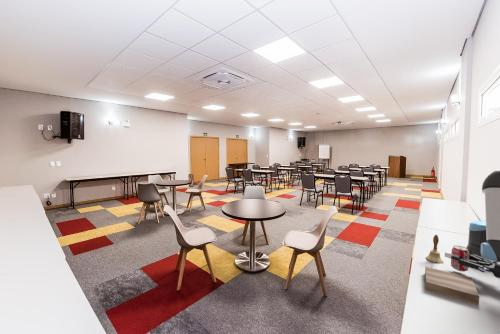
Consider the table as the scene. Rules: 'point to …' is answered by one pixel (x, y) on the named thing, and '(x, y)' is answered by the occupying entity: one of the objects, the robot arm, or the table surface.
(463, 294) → the podium
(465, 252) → the soda can
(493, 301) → the table surface
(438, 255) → the hand bell
